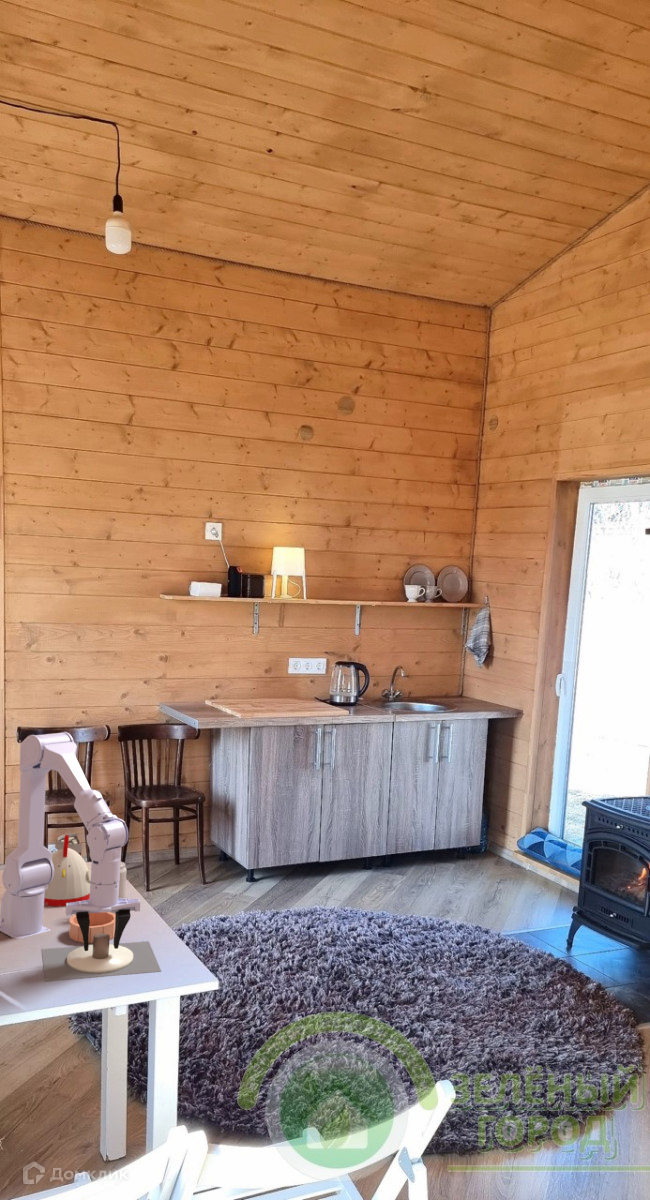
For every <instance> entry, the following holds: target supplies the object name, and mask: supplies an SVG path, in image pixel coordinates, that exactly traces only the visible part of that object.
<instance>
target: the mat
mask: <svg viewBox="0 0 650 1200" xmlns="http://www.w3.org/2000/svg"><path fill="white" fill-rule="evenodd" d="M112 944H113V945H114V943H112ZM83 946H84V945H81V946H67V947H66V946H65V947H52V948H50V947H49V948H41V957H42V965H43V973H44V974H43V975H44V981H45V982H55V981H67V980H77V979H78V980H79V979H91V978H100V977H101V978H102V977H103V978H104V977H112V976H113V977H114V976H125V975H138V974H148V973H161V972H162V970H161V966H160V965H159V962H158V959H157V957H156V955H155V953H154V951H153V948H152V945H151V943H150V941H136V942H135V941H133V942H123V943H122V942H121V943H120V942H119V946H123V947H126V948H128V949H129V950H131V951H132V953H133V961H132V963H131V964H130V965H129V966H127V967H125V968H123V969H121V970H117V971H113V972H108V973H86V972H81V971H77V970H74V969H72V968H71V967H69V966H68V964H67V956H68V954H69V953H70V952H71V951H73V950H75V949H77V948H80V947H83Z"/></svg>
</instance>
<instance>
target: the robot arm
mask: <svg viewBox="0 0 650 1200" xmlns="http://www.w3.org/2000/svg"><path fill="white" fill-rule="evenodd" d="M19 749H20V750H19V770H20V777H19V801H18V802H19V803H18V805H19V806H18V824H17V825H18V827H17V828H18V829H17V832H18V833H17V845H16V847H15V848H14V849H13V850H12V851H11V852H10V853H9V854H8V855H7V856H5V857H6V858H5V864H4V868H3V871H2V874H1V881H2V885H3V887H4V889H5V891H4V893H3V895H2V898H1V902H0V903H1V904H0V932H1V933H3V934H5V935H6V936H9V937H11V938H13V939H16V940H18V939H19V940H21V939H25V938H29V937H31V936H36V935H40V934H43V933H47V932H51V929H50V928H48V927H46V926H44V922H43V921H44V909H45V908H44V907H45V905H44V895H45V890H47V889H48V884H50V883H51V882H52V880H53V877H54V866H53V862H52V854H53V852H51V851H50V850H49V849H48V848H47V847H46V846H45V845H44V843H45V842H44V838H45V836H44V835H45V811H46V809H45V808H46V786H47V785H46V780H47V774H48V773H49V772H50V771H51V770H52V771H56V772H57V773H58V774H59V776H60V777H61V778H62V779H63V781H64V784H66V785H67V787H68V788H69V790H70V791H71V792H72V794H73V795H74V797H75V800H74V804H73V807H74V809H75V810H76V811H75V812H77V814H78V817H79V818H80V819H81V821H82V823H83V825H84V826H85V829H86V830H87V832H88V833H87V834H86V843H87V845H88V849H89V858H90V860H91V866H90V869H91V881H90V898H89V900H84V901H79V902H73V903H66V906H65V915H66V917H67V916H69V917H72V916H73V915H75V914H76V918H77V921H78V924H79V926H80V929H81V932H82V935H83V941H84V943H83V946H84V951H88V947H89V945H90V943H89V941H88V935H89V924H90V919H89V913H101V912H102V913H103V912H115V933H114V938H113V944H114V948H115V949H118V946H119V943H120V941H121V938H122V935H123V933H124V931H125V928H126V926H128V923H129V922H130V919H131V917H132V916H131V915H132V914H131V911H134V912H141V901H140V898H125V899H121V898H118V896H119V880H120V863H121V862H122V861H121V859H122V847H124V846H125V845H126V844H127V842H128V840H129V828H128V826H127V824H126V821H124V819H122V818H119V817H118V816H117V815H115V814H113V813H112V811H111V810H110V808H109V806H108V804H107V803H106V801H105V800H104V798H103V796H102V793H101V792H100V791H99V790H96V789H92V788H91V786H90V784H89V782H88V779H87V778H86V776H85V773H84V771H83V769H82V766H81V765H80V763H79V761H78V759H77V749H78V746H77V744H76V743H75V741H74V738H73V737H72V735H71V734H70V733H69V732H67V731H62V732H61V731H60V732H57V733H46V734H36V735H35V734H30V735H28V736H26V738H24V740H22V741H21V742H20V748H19Z"/></svg>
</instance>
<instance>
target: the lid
mask: <svg viewBox="0 0 650 1200" xmlns="http://www.w3.org/2000/svg"><path fill="white" fill-rule="evenodd" d="M113 944H114V943H110V935H108V934H105V933H100V934H96V935H94V937H93V943H92V944H89V947H88V951H84V945H82V946H83V947H80V948H77V949H75V950H73V951H71V952H70V953H69V954H68V956H67V964H68V966H69V967H71V968H72V969H74V970H77V971H81V972H86V973H108V972H113V971H117V970H121V969H123V968H125V967H127V966H129V965H130V964H131V963H132V961H133V953H132V951H131V950H129V949H128V948H126V947H123V946H118V949H115V948H114V945H113Z"/></svg>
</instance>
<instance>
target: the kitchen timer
mask: <svg viewBox="0 0 650 1200" xmlns="http://www.w3.org/2000/svg"><path fill="white" fill-rule="evenodd" d="M64 835H65V834H64ZM68 844H69V835H65V838H64V847H63V848H62V849H60V850H58V849H57V850H55V852H52V862H53V866H54V877H53V880H52V882H51V883H50V884H48V889H47V890H45V895H44V906H48V905H49V906H51V907H66V903H73V902H79V901H84V900H89V898H90V881H91V866H90V865H87V863H86V861H85V860H84V858H83V857H82V855H81V856H80V855H79V854H78V853H77V852H76V851H74V850H73V849H70V848H68Z"/></svg>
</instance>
